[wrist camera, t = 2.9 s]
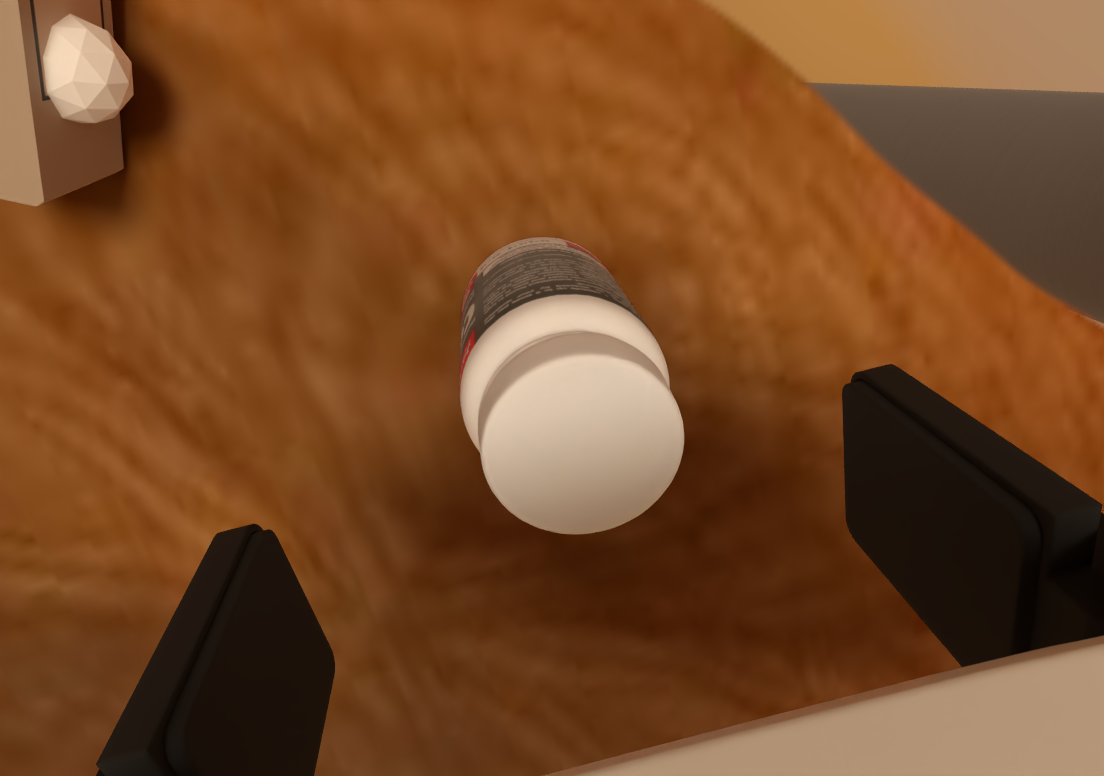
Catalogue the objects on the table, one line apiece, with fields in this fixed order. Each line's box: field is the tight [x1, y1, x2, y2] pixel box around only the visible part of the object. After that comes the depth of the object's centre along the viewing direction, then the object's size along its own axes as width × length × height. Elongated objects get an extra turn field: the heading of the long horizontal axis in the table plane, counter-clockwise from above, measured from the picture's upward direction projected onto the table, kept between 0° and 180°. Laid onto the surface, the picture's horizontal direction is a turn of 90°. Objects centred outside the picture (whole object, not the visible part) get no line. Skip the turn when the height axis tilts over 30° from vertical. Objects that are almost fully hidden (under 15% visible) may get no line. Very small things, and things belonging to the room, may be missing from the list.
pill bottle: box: [460, 237, 684, 534], centre depth 17 cm, size 5×5×8 cm
